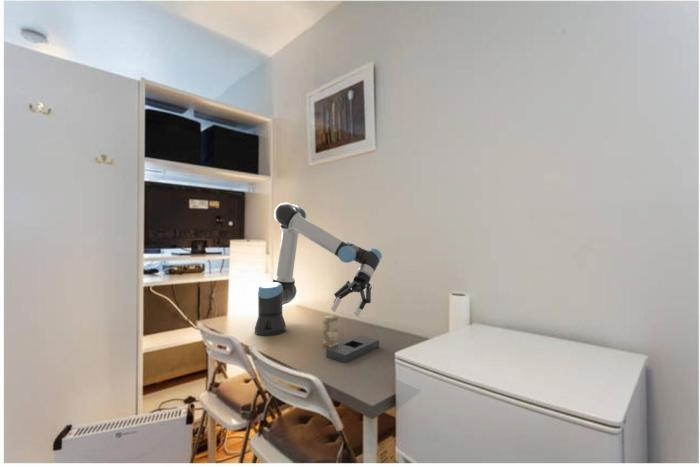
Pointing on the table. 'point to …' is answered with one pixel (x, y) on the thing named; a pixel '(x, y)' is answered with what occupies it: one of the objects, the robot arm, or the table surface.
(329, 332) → the peg
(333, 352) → the grey block with hole
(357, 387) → the table surface
